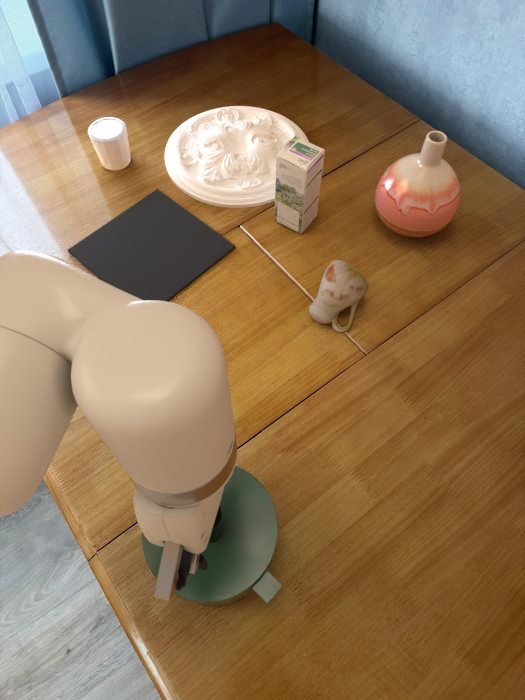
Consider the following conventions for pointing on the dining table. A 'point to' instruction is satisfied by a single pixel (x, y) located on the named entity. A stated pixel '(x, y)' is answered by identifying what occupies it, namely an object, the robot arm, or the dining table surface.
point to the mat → (152, 249)
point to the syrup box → (298, 184)
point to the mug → (338, 294)
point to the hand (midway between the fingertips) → (205, 509)
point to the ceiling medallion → (229, 155)
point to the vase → (419, 191)
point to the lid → (231, 543)
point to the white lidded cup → (110, 142)
